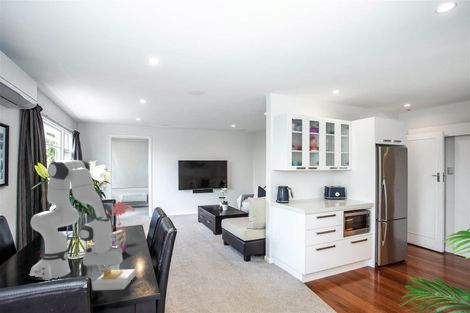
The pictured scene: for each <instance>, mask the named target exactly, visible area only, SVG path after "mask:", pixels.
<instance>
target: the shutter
mask: <svg viewBox="0 0 470 313" xmlns="http://www.w3.org/2000/svg"><path fill="white" fill-rule="evenodd" d="M120 270H121V271H111V268H110V267H107V269H106V270H105V271H104V272H103V273H102V274H103V276H104V277H102V279H116V278H117V277H118V276H119V275H120V274H121V273H122V270H123V269H120Z"/></svg>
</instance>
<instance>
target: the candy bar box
mask: <svg viewBox="0 0 470 313" xmlns="http://www.w3.org/2000/svg"><path fill="white" fill-rule="evenodd" d="M126 233H127V232H126V229H120V230H115V231H112V233H111V239H112V247H120V248H121V249H122V254H123V253H125V252H126V251H127V250H126V248H127V247H126V244H127V241H126V240H127V239H126V236H127V234H126Z"/></svg>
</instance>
